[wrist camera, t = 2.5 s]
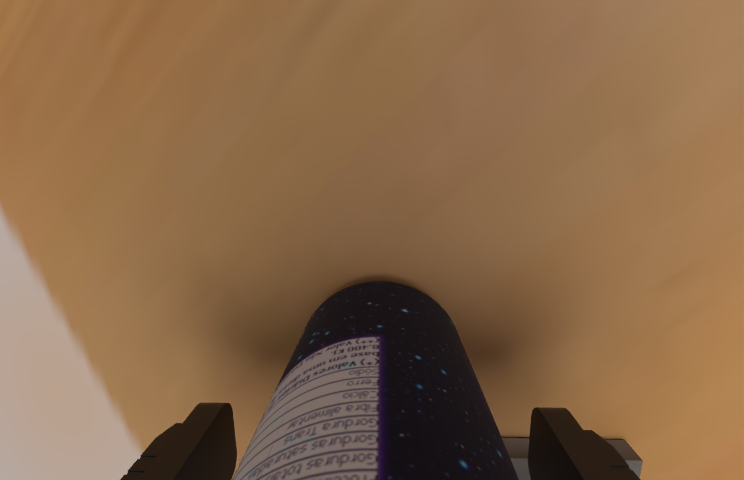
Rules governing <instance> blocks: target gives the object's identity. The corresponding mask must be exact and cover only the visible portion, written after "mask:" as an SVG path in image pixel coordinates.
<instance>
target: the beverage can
mask: <svg viewBox="0 0 744 480" xmlns="http://www.w3.org/2000/svg"><path fill="white" fill-rule="evenodd" d="M232 480H519V478H518V476H517V473H516V471H515V469H514V466H513V464H512V461H511V459H510V457H509V454H508V452H507V449H506V447H505V445H504V442H503V440H502V438H501V435H500V433H499V430H498V428H497V426H496V423H495V421H494V418H493V416H492V414H491V411H490V409H489V407H488V404H487V402H486V399H485V397H484V395H483V392H482V390H481V387H480V385H479V383H478V380H477V378H476V375H475V373H474V371H473V368H472V366H471V364H470V361H469V359H468V356H467V354H466V352H465V349H464V347H463V344H462V342H461V340H460V337H459V335H458V333H457V330H456V328H455V326H454V324H453V322H452V320H451V319H450V317H449V316H448V314H447V313H446V312H445V310H444V309H443V308H442V307H441V306H440V305H439V304H438V303H437V302H435V301H434V300H433V299H432V298H430V297H429V296H427V295H426V294H424V293H422V292H421V291H419V290H416V289H414V288H412V287H409V286H406V285H403V284H398V283H393V282H382V281H381V282H367V283H361V284H357V285H354V286H351V287H348V288H346V289H343V290H341V291H339V292H337V293H336V294H334V295H333V296H331V297H330V298H328V299H327V300H326V301H325V302H324V303H323V304H322V305H321V306H320V307H319V308H318V309H317V310H316V311H315V313H314V314H313V315H312V317H311V318H310V320H309V322H308V324H307V326H306V328H305V330H304V332H303V334H302V336H301V338H300V340H299V343H298V345H297V347H296V349H295V351H294V353H293V355H292V357H291V359H290V361H289V363H288V365H287V367H286V369H285V372H284V374H283V376H282V378H281V380H280V382H279V384H278V386H277V388H276V390H275V392H274V394H273V396H272V398H271V400H270V403H269V405H268V407H267V409H266V411H265V413H264V415H263V417H262V419H261V421H260V423H259V425H258V427H257V429H256V431H255V434H254V436H253V438H252V440H251V442H250V444H249V446H248V448H247V450H246V452H245V454H244V456H243V458H242V460H241V463H240V465H239V467H238V469H237V471H236V473H235V475H234V477H233V479H232Z"/></svg>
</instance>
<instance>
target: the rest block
mask: <svg viewBox="0 0 744 480" xmlns="http://www.w3.org/2000/svg"><path fill="white" fill-rule="evenodd" d="M502 440H503V442H504V445H505V447H506V449H507V452H508V454H509V457H510V459H511V461H512V464H513V466H514V469H515V471H516V473H517V476H518V478H519V480H531V478H530V474H529V468H528V449H529V438H502ZM605 441H607V442H608V443H609V444H611V445H612V446H613V447H614V448H615V449H616V450H617V452H618V453H619V454H620V455H621V456H622V458H623V459H624V460H625V461H626V463H627V464H628V465H629V468H630V470H633V471H634V472H635V474H636V475H637V476H638V477H639V478H640V473H641V467H642V459H641V458H640V457H639V456H638V455H637V454H636V452H635V451H634V450H633V449H632V448H631V447H630V445H629V444H628V443H627V442H626V441H625V440H605Z"/></svg>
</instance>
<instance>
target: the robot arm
mask: <svg viewBox="0 0 744 480" xmlns="http://www.w3.org/2000/svg"><path fill="white" fill-rule="evenodd" d="M236 459H237V449H236V440H235V430H234V421H233V411H232V407H231V405H230V404H229V403H199V404H198V405H197V406H196V407H195V408H194V410H193V411H192V412H191V413H190V415H189V416H188V417H187V419H186V420H185V421H184V422H183V423H176V424H174V425H173V426H172V427H170V428H169V429H167V430H166V431H165V432H163V433H162V434H160V435H159V436H158V437H156V438H155V439H154V441H153V442H152V443H151V444H150V445H149V446H148V448H147V449H146V450H145V451H144V452H143V454H142V455H141V458H140V459H137V461H136V462H135V463H134V464H133V465H132V467H131V468H130V469H129V470H128V473H127V475H124V476H123V477H122V478H121V480H231V479H232V476H233V473H234V470H235V465H236ZM528 468H529V474H530V478H531V480H640V479H639V477H638V476H637V475H636V474H635V472H634V471H633V470H630V468H629V465H628V464H627V463H626V461H625V460H624V459H623V458H622V456H621V455H620V454H619V453H618V452H617V450H616V449H615V448H614V447H613V446H612V445H611V444H609V443H608V442H607V441H605V440H604V439H603V438H601V437H600V436H599V435H597V434H596V433H595V432H593V431H592V430H583V429H582V428H581V427H580V425H579V424H578V423H577V421H576V420H575V419H574V417H573V416H572V415H571V413H570V412H569V411H568V410H567V409H566V408H534V409H533V411H532V415H531V426H530V438H529V449H528Z"/></svg>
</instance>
